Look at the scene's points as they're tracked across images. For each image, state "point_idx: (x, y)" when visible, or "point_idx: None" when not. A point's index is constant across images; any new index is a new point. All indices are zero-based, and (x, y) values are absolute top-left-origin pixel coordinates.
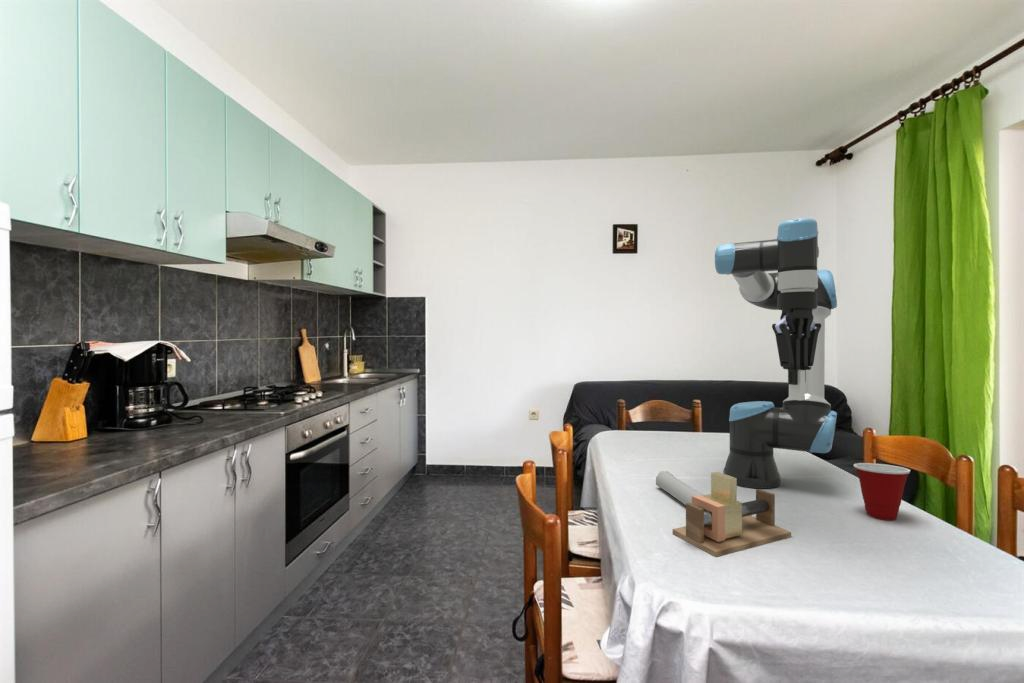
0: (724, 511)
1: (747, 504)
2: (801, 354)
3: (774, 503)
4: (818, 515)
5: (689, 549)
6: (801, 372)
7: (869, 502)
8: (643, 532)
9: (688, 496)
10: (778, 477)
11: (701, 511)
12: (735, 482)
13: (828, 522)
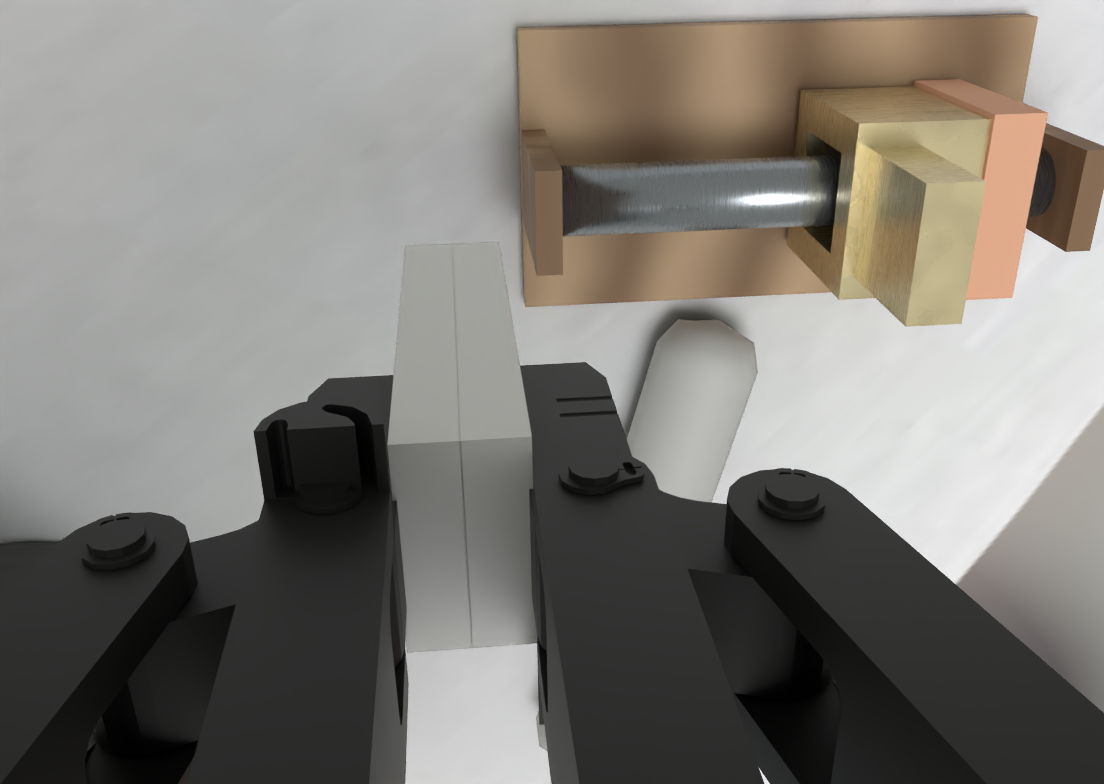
0: (984, 108)
1: (705, 190)
2: (382, 748)
3: (531, 158)
4: (123, 170)
5: (1052, 121)
6: (498, 418)
7: None
8: (1069, 334)
9: (710, 495)
10: None
11: (1096, 148)
12: (925, 175)
13: (156, 78)
